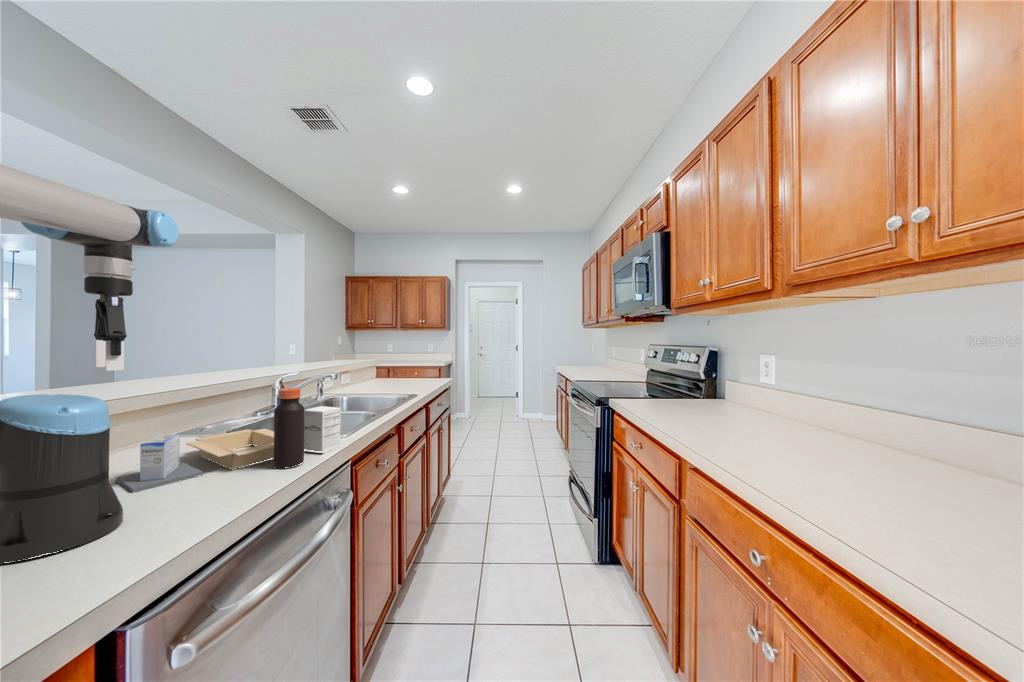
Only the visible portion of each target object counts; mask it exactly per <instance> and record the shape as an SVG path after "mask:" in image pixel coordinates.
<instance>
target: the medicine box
mask: <svg viewBox="0 0 1024 682" xmlns="http://www.w3.org/2000/svg"><path fill="white" fill-rule="evenodd" d="M180 437H181V436H180V434H179V433H178V434H177V433H176V434H174V433H173V434H171V433H169V434H158V435H156V436H153V437H152V438H150V439H148V440H146V441H144V442H142V443H140V451H139V452H140V454H139V455H140V457H139V458H140V459H139V463H140V464H139V465H140V466H139V467H140V468H139V472H140V481H150V480H159V479H164V478H166V477H167V476H168V475H169V474H171V473H172V472H173V471H174V470H176V469H177V468H178V467H179V464H180V443H181V442H180Z"/></svg>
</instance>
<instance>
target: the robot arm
mask: <svg viewBox="0 0 1024 682" xmlns="http://www.w3.org/2000/svg"><path fill="white" fill-rule="evenodd" d="M0 219H5V220H9V221H15V222H20V223H21V224H22V226H23V227H24V228H26V230H28V232H29V231H30V232H31V233H33V234H36V235H38V236H42V237H45V238H48V239H50V240H57V241H60V242H61V241H62V242H66V243H69V244H73V245H78V246H82V247H84V249H83V250H84V254H83V274H85V275H87V276H85V277H84V281H83V283H84V284H83V287H84V288H83V290H84V292H85V293H86V294H89V295H90V294H91V295H100V296H99V298H97V299H96V300H95V303H94V306H95V324H94V325H95V326H94V333H93V336H94V338H95V367H96V368H105V371H106V372H109V371H110V372H111V371H113V372H114V371H125V340H126V339H127V333H126V323H125V313H124V301H125V300H124V298H123V297H129V296H130V297H131V296H132V295H133V293H134V292H133V290H134V289H133V281H132V280H130V279H132V278H133V271H136V270H137V267H136V266H134V265H133V246H139V247H152V248H159V247H160V248H162V247H163V248H170V247H172V246H174V245H176V243H177V242H178V239H179V227H178V223H177V222H176V220H175V219H174V217H173V216H172V215H171V214H169V213H168V212H166V211H160V210H153V209H141V208H136V207H133V206H130V205H127V204H125V203H121V202H117V201H114V200H111V199H107V198H104V197H101V196H98V195H95V194H93V193H89V192H86V191H83V190H80V189H78V188H74V187H71V186H68V185H65V184H62V183H59V182H56V181H52V180H50V179H47V178H45V177H40V176H38V175H34V174H31V173H28V172H25V171H22V170H19V169H16V168H13V167H10V166H8V165H3V164H1V163H0ZM111 426H112V421H111V419H110V410H109V405H108V404H107V402H106V401H104V400H103V399H102V398H99V397H95V396H91V395H90V396H89V395H81V394H63V393H61V394H29V395H27V394H25V395H18V396H17V395H16V396H11V397H6V398H4V399H3V398H2V399H1V400H0V563H4V562H10V561H11V562H12V561H18V560H23V559H28V558H31V557H35V556H39V555H42V554H46V553H53V552H57V551H60V550H65V549H68V548H72V547H75V548H77V547H76V546H78V547H80V546H83V545H85V543H86V544H89V543H90V541H91V542H93V541H96V540H98V539H99V537H100V538H102V537H104V536H106V535H108V534H110V533H112V532H113V531H115V530H116V529H117V528H119V527H120V526H121V525H122V524H123V522H124V507H123V506H122V503H121V502H120V500H119V498H118V496H117V493H116V492H115V490H114V488H113V486H112V484H111V482H110V434H111ZM118 526H119V527H118ZM114 529H115V530H114ZM109 532H110V533H109ZM107 533H108V534H107ZM105 534H106V535H105ZM103 535H104V536H103ZM101 536H102V537H101ZM97 538H98V539H97ZM95 539H96V540H95ZM92 540H93V541H92ZM82 544H83V545H82ZM79 545H80V546H79ZM72 549H73V548H72Z"/></svg>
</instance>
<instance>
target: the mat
mask: <svg viewBox="0 0 1024 682" xmlns="http://www.w3.org/2000/svg"><path fill="white" fill-rule="evenodd" d="M202 474H203V471H202V470H200V469H197V468H196V467H193V466H191V465H189V464H188V463H185V462H181V463H180V462H179V467H178V468H177V469H176V470H174V471H173V472H172V473H171V474H169V475H168V476H167V477H166V478H164V479H159V480H150V481H140V471H139V472H136V473H131V474H126V475H122V476H117V477H116V482H117V483H118V484H120V485H121V486H123V487H124V488H125V489H126V490H128V491H129V492H130V493H136V492H141V491H144V490H148V489H153V488H156V487H160V485H161V486H164V484H165V485H169V484H173V483H176V482H175V481H177V482H180V481H179V480H181V481H184V480H183V479H185V480H187V479H186V478H189V479H191V478H190V477H193V478H195V477H194V476H197V477H199V476H198V475H201V476H203V475H202ZM172 482H173V483H172ZM168 483H169V484H168Z"/></svg>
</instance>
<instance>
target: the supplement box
mask: <svg viewBox="0 0 1024 682" xmlns="http://www.w3.org/2000/svg"><path fill="white" fill-rule="evenodd" d="M341 410H342V407H336V406H335V407H334V406H325V405H320V406H316V407H315V406H314V407H311V408H306V409H304V449H307V450H314V451H324V450H327V449H329V448H332V447H334V446H337V445H339V444H340V445H341V421H342V420H341V416H342V415H341V414H342V413H341V412H342V411H341Z"/></svg>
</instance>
